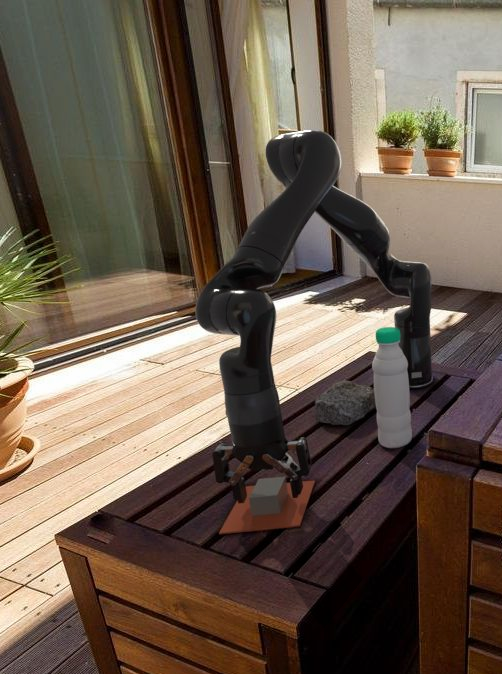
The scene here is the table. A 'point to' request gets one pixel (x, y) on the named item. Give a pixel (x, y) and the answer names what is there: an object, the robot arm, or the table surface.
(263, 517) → the mat
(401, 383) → the water bottle
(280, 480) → the cube
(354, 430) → the table surface
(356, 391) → the rock
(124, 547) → the table surface
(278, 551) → the table surface
